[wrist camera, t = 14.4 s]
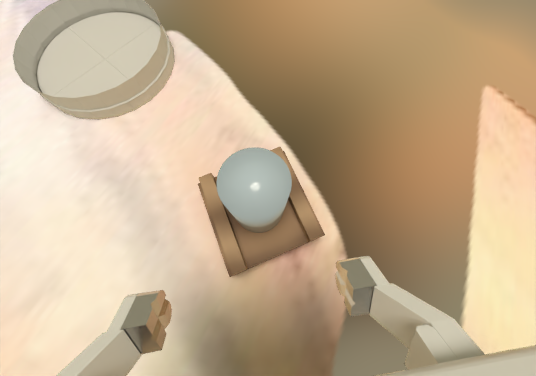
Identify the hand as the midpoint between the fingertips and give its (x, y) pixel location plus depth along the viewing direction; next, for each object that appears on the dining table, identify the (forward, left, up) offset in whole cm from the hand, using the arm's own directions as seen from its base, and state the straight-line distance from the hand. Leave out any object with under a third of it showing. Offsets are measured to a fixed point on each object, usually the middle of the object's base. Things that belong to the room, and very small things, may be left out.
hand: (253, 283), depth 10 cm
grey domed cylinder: (+7, -2, -15) cm, 17 cm away
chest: (+7, -2, -18) cm, 20 cm away
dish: (+41, +12, -19) cm, 46 cm away
